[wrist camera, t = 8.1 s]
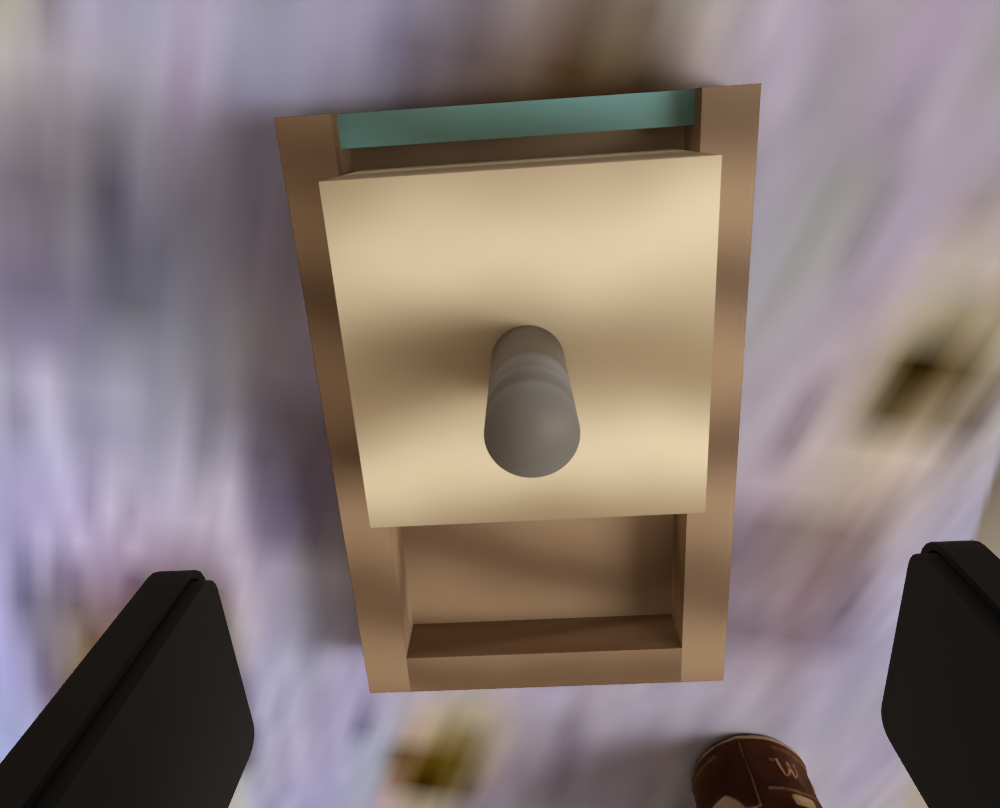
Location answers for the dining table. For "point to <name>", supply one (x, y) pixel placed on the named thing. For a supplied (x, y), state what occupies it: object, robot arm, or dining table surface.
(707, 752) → the coffee cup
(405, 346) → the square knob plate
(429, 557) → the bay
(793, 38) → the dining table surface
